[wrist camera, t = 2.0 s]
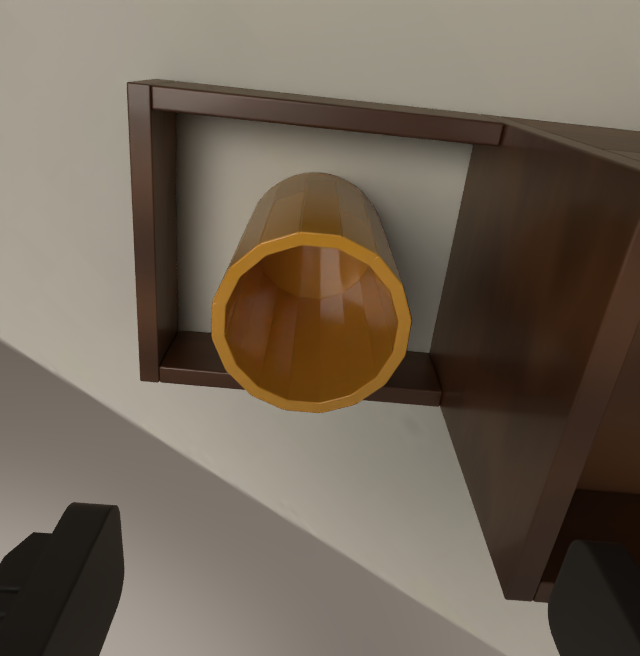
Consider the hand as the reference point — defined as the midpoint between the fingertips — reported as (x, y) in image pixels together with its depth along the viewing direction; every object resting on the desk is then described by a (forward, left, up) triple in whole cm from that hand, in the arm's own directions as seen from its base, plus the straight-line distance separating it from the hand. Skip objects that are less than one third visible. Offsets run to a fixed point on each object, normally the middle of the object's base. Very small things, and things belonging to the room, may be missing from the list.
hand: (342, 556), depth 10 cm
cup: (-1, -1, -17) cm, 17 cm away
